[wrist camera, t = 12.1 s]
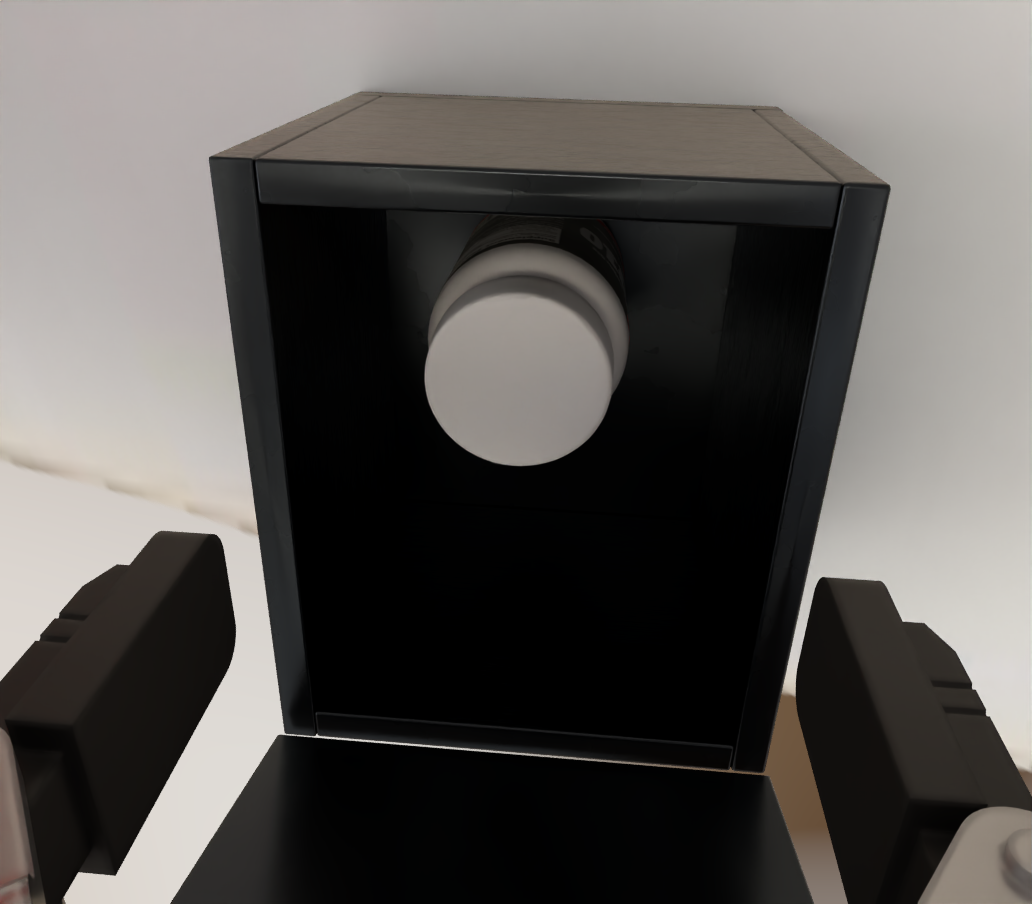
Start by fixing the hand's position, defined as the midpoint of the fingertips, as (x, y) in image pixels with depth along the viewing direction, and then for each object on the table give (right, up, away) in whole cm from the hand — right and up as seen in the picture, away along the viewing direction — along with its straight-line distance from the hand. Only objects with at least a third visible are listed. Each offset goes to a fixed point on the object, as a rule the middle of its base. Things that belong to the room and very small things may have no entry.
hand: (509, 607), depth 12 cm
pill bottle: (+1, +7, +14) cm, 16 cm away
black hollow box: (+1, +6, +16) cm, 17 cm away
